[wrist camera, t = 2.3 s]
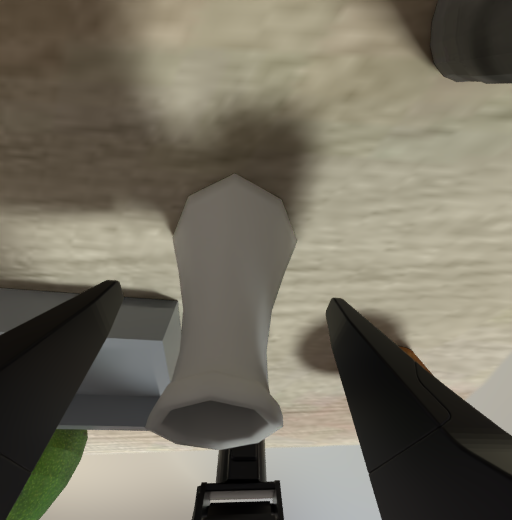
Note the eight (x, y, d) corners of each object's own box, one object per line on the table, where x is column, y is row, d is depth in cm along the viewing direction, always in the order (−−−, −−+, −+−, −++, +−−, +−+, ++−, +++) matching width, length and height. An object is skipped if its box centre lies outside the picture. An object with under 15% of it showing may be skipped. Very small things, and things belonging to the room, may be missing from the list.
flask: (153, 234, 13) (-5, 431, 5) (234, 144, 11) (184, 253, 2) (236, 296, 16) (223, 481, 8) (316, 238, 14) (416, 426, 6)
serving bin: (187, 394, 25) (179, 431, 22) (47, 389, 23) (18, 428, 21) (177, 301, 16) (162, 340, 14) (-41, 285, 15) (-111, 325, 12)
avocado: (25, 393, 24) (-136, 592, 14) (102, 403, 26) (9, 586, 16) (35, 420, 28) (-84, 590, 18) (101, 428, 30) (26, 585, 20)
